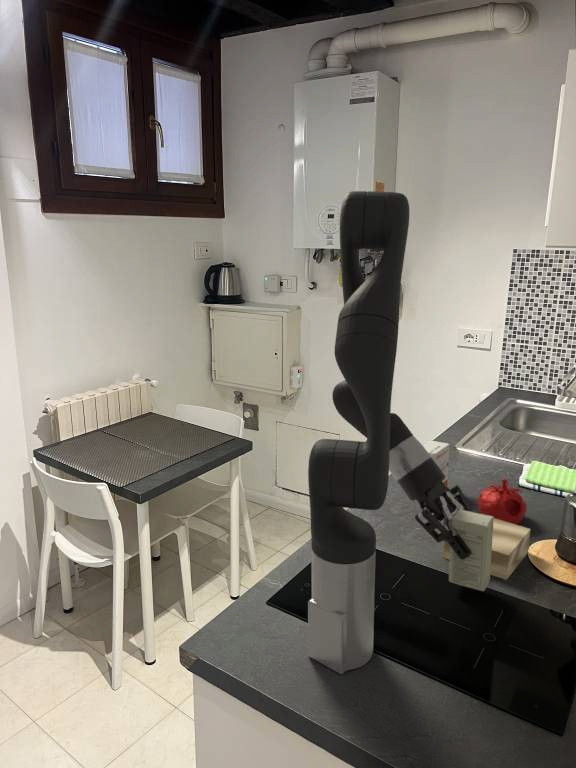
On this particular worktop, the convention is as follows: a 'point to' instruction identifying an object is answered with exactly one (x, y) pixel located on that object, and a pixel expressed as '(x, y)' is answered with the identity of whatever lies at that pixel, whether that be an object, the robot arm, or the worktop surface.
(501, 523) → the birch block
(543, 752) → the worktop surface
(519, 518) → the pomegranate
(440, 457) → the ink box
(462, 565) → the skincare box
